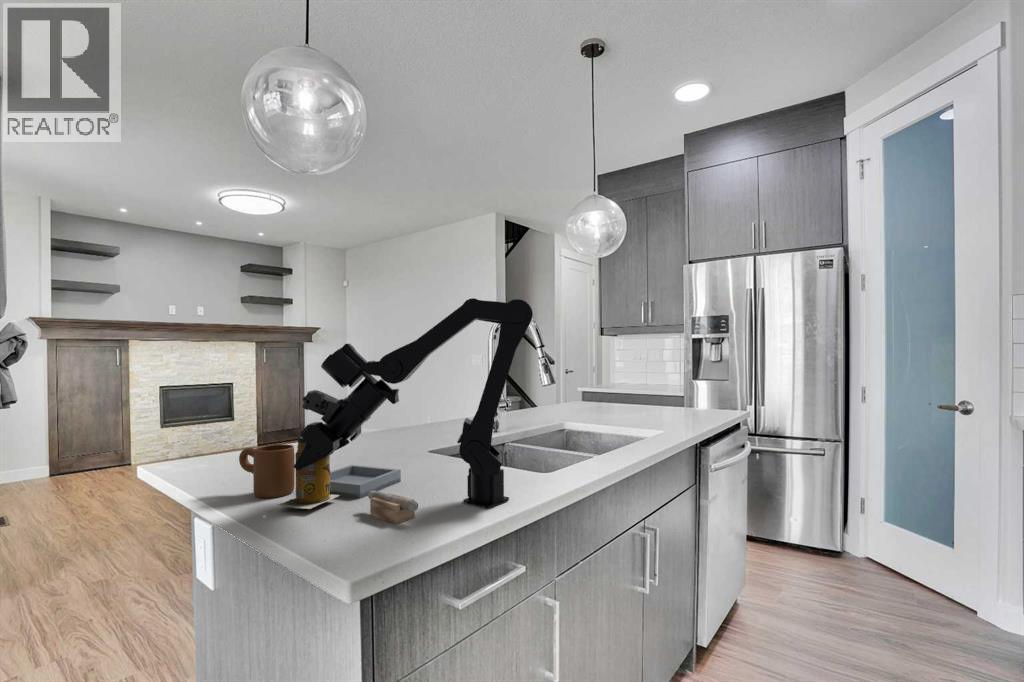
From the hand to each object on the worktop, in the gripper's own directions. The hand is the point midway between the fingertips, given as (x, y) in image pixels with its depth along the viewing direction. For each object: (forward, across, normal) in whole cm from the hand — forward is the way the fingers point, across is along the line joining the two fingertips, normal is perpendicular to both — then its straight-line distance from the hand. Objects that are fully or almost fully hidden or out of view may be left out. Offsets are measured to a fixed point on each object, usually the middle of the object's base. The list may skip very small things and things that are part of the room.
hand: (302, 464), depth 92 cm
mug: (+13, -9, -2) cm, 16 cm away
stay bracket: (-7, +8, +18) cm, 21 cm away
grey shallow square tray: (+1, -13, +10) cm, 16 cm away
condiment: (+4, +1, +6) cm, 7 cm away
